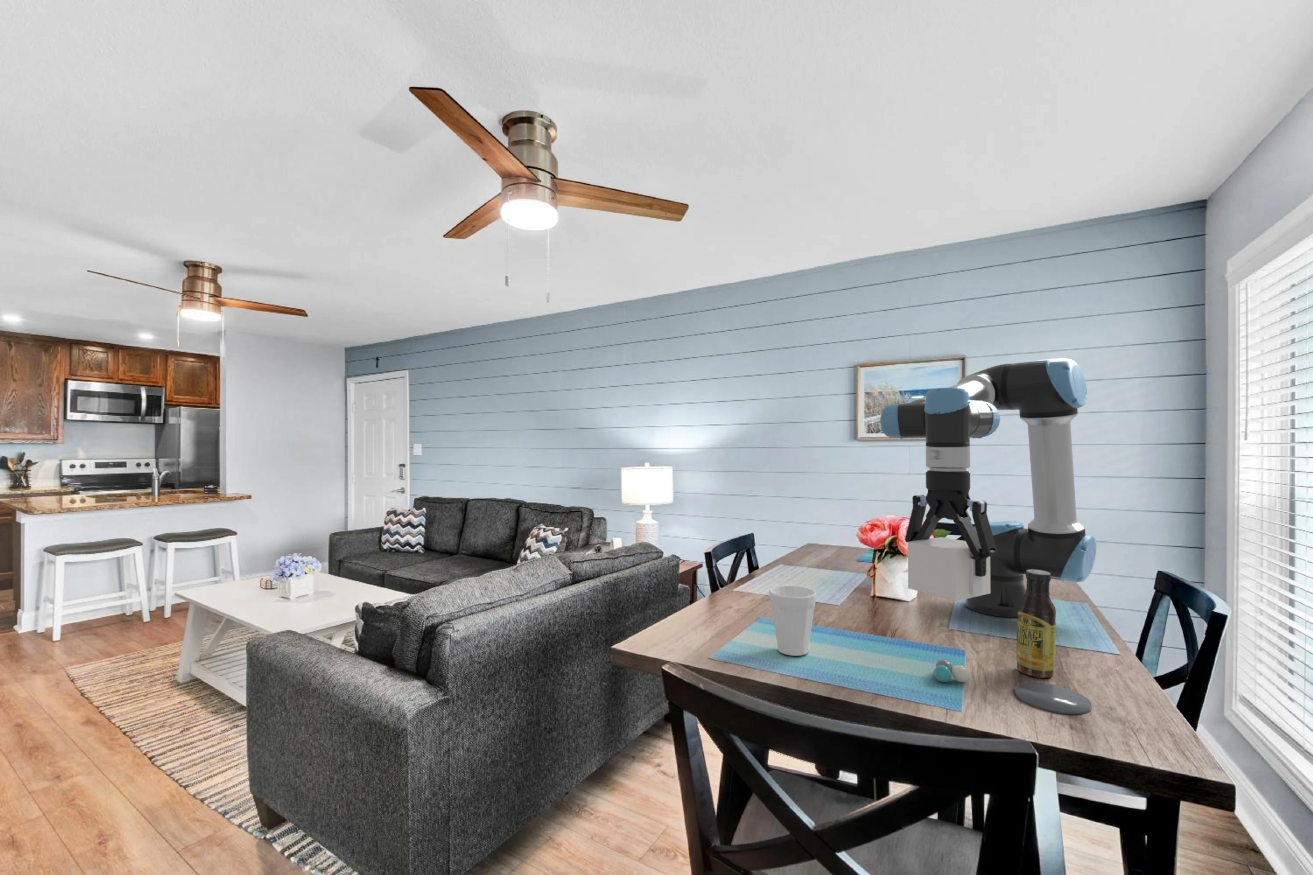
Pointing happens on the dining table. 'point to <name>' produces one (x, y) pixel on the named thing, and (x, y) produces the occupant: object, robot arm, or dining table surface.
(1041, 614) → the sauce bottle
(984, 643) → the dining table surface
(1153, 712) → the dining table surface
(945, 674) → the teal marble
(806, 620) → the cup
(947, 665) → the smoky marble
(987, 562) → the white block
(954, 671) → the cream marble
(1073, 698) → the dark grey disc
